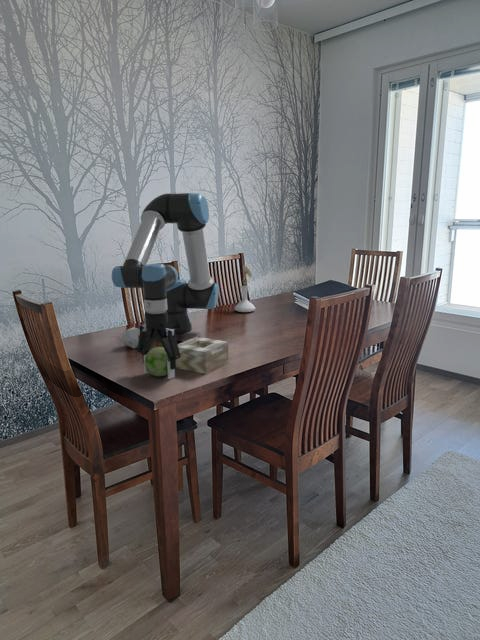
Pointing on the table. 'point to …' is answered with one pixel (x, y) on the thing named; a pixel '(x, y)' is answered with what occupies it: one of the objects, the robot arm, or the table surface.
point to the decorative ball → (157, 361)
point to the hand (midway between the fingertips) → (159, 375)
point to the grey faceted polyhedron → (132, 337)
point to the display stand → (202, 355)
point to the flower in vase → (245, 296)
